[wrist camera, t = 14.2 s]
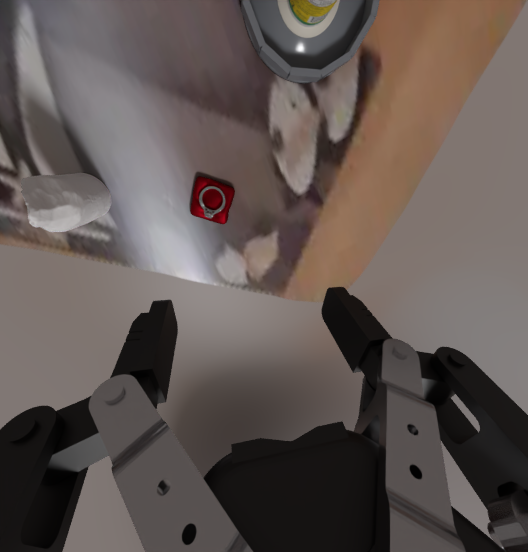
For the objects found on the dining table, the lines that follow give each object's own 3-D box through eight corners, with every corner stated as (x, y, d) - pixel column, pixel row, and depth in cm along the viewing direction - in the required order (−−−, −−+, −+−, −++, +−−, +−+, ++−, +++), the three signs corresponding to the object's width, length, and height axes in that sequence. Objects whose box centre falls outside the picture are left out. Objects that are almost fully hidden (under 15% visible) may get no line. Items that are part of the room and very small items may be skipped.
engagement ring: (190, 213, 34) (186, 216, 32) (198, 174, 32) (194, 173, 30) (226, 224, 36) (225, 228, 33) (236, 187, 33) (235, 188, 31)
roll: (-38, 183, 19) (31, 174, 19) (58, 175, 29) (101, 169, 30) (10, 248, 22) (68, 239, 22) (82, 219, 32) (120, 213, 32)
